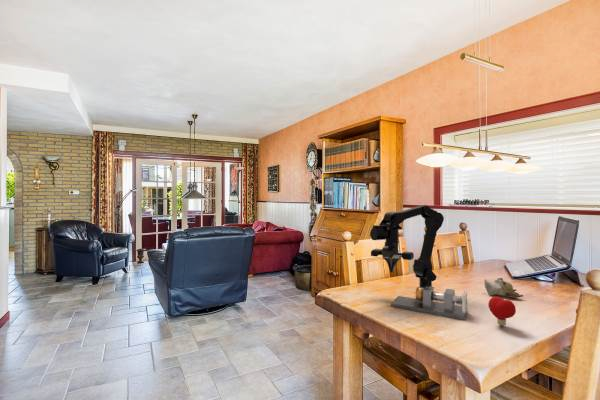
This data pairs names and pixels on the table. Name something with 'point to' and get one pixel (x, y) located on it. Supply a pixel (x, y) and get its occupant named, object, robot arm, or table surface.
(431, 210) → the robot arm
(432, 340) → the table surface
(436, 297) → the shaft
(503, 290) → the ceramic sculpture
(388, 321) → the table surface
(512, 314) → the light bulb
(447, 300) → the bearing frame
